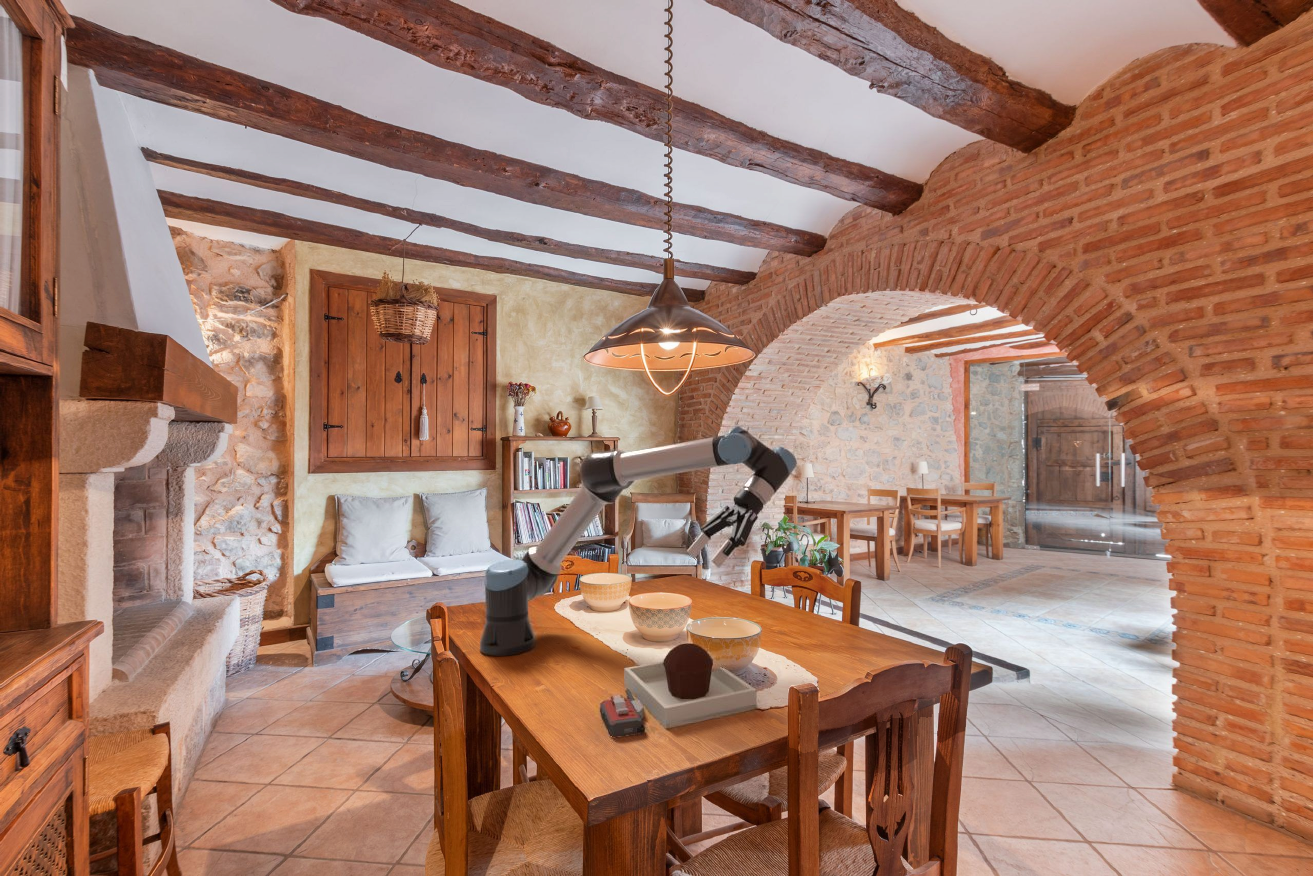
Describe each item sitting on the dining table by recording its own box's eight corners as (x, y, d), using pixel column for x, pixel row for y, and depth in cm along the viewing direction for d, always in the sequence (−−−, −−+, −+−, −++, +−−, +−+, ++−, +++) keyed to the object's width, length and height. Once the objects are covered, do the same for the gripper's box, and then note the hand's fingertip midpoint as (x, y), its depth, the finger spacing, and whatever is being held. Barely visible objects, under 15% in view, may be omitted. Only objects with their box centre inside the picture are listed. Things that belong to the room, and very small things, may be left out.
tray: (624, 685, 142) (624, 668, 142) (704, 670, 150) (704, 654, 150) (665, 728, 120) (665, 708, 120) (756, 708, 128) (756, 689, 128)
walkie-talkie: (655, 736, 118) (631, 695, 137) (654, 713, 118) (631, 676, 137) (610, 743, 115) (593, 701, 134) (610, 719, 115) (592, 681, 135)
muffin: (713, 703, 129) (712, 655, 129) (661, 702, 130) (660, 655, 130) (713, 681, 141) (712, 637, 141) (666, 680, 142) (665, 637, 142)
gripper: (789, 511, 148) (736, 578, 142) (738, 502, 171) (690, 560, 165) (770, 490, 146) (715, 558, 140) (721, 484, 169) (672, 542, 163)
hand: (702, 559), depth 153 cm, fingers open, 13 cm apart
